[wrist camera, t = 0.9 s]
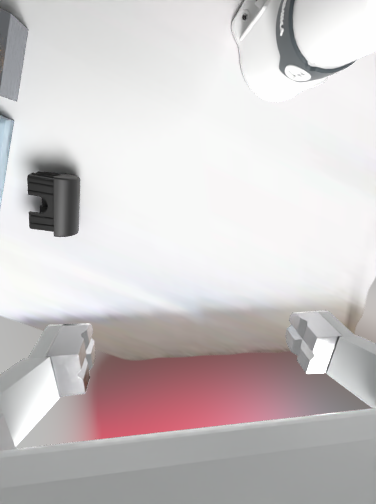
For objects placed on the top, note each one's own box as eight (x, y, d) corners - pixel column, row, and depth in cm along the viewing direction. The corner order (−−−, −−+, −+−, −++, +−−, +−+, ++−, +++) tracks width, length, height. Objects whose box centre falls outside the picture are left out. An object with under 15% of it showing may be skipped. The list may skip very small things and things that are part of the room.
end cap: (83, 227, 49) (72, 239, 43) (44, 222, 48) (27, 233, 42) (85, 175, 46) (74, 180, 39) (42, 168, 44) (25, 172, 38)
